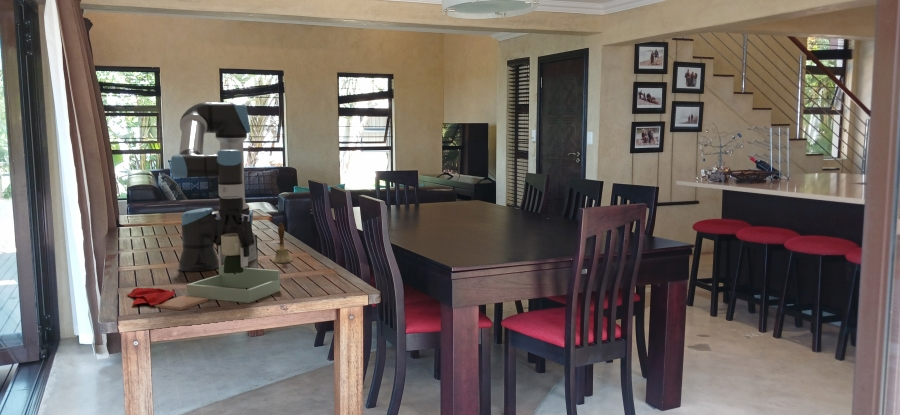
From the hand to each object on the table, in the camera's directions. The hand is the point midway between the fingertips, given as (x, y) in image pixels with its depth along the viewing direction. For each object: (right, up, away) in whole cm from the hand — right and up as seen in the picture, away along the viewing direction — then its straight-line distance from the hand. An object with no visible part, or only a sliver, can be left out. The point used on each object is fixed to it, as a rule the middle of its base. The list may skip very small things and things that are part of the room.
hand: (233, 265), depth 222 cm
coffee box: (-4, -7, +23) cm, 24 cm away
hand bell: (+2, -3, +57) cm, 57 cm away
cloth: (-24, -10, -6) cm, 27 cm away
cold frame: (0, -9, +1) cm, 9 cm away
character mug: (0, -3, 0) cm, 3 cm away
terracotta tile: (-12, -11, -12) cm, 20 cm away
